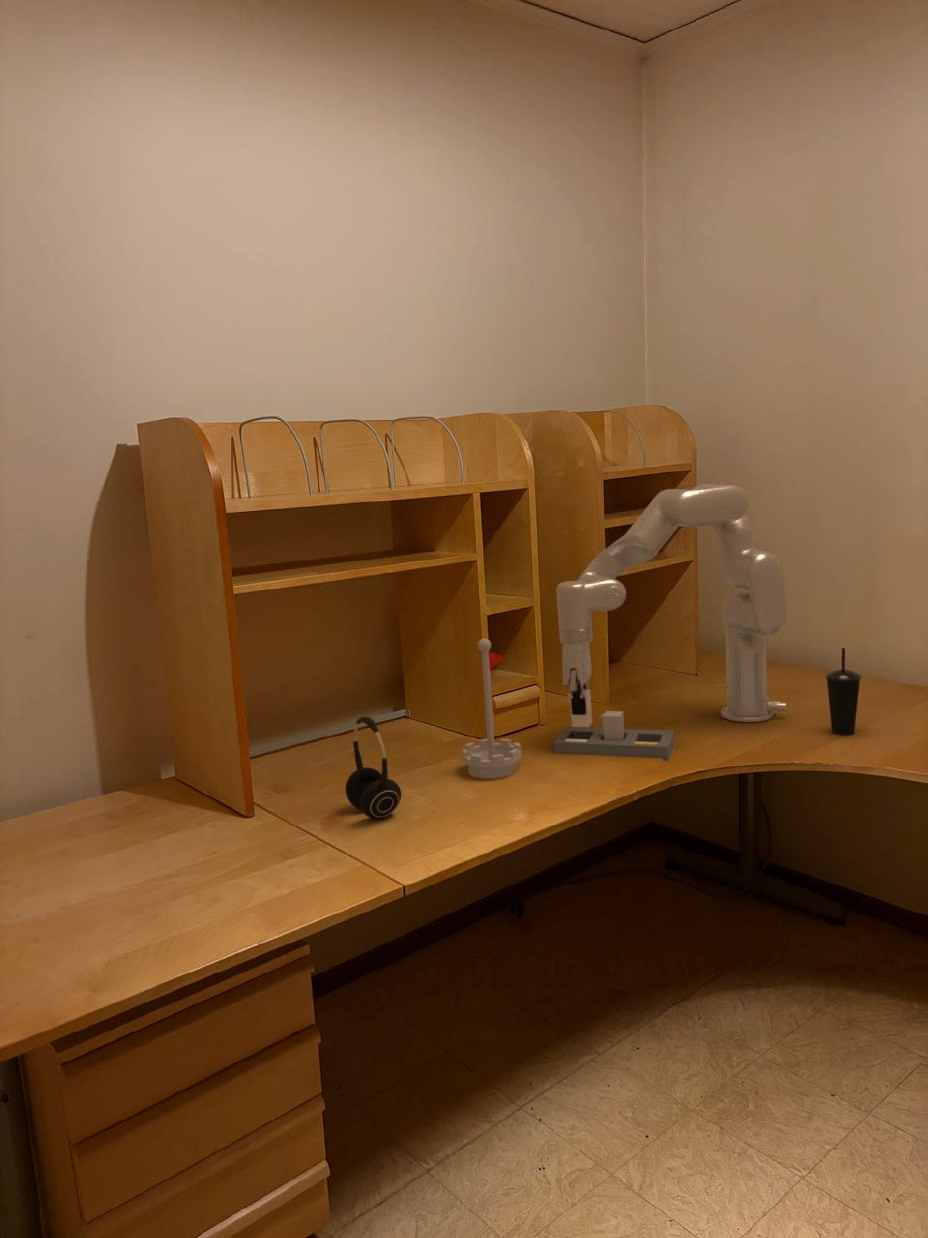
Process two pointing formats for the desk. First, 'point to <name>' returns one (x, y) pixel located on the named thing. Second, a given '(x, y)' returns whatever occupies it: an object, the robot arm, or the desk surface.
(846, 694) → the drinking cup
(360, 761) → the headphones
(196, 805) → the desk surface
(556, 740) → the grey slotted tray
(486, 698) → the flag stand
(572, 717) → the ivory plug
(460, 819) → the desk surface
